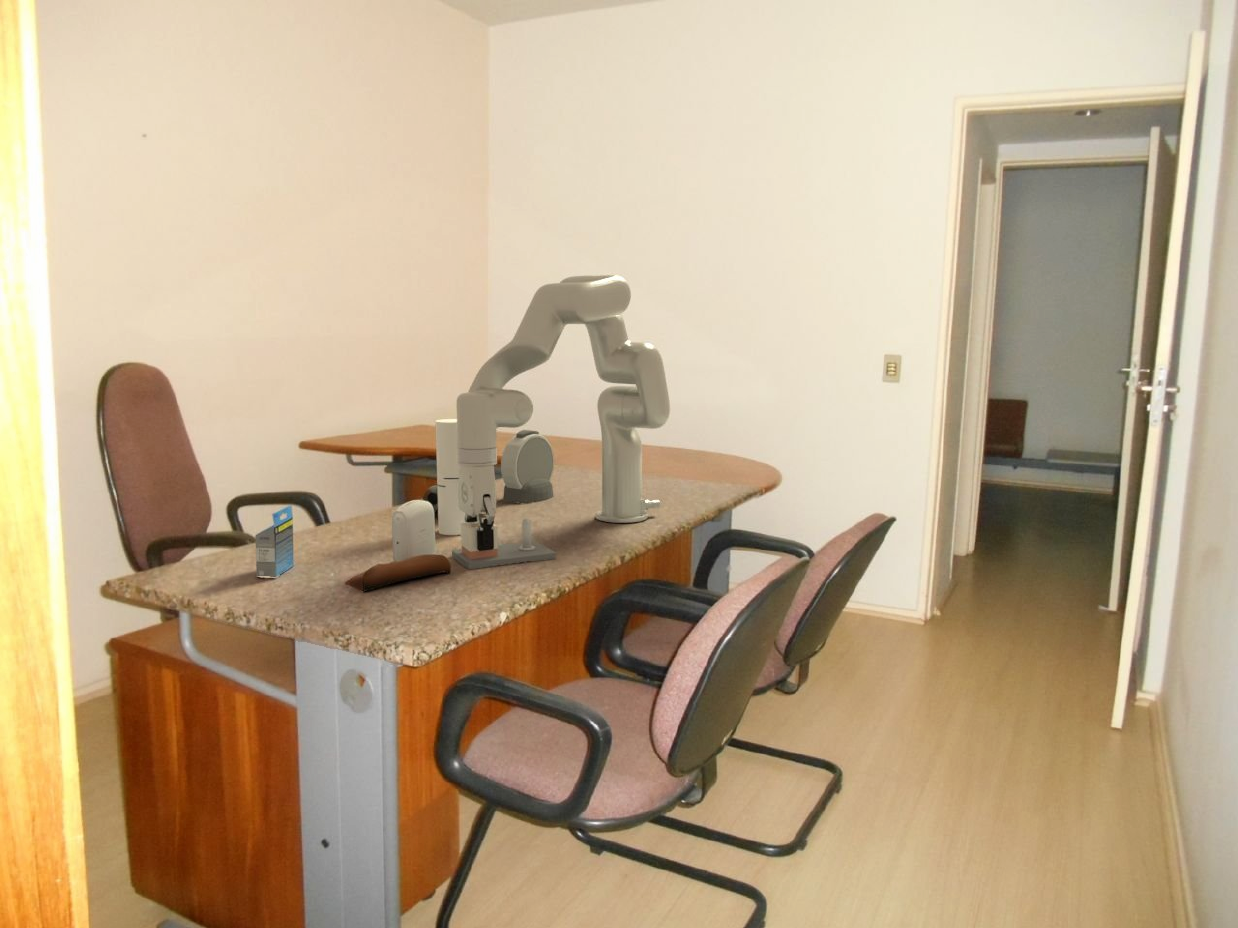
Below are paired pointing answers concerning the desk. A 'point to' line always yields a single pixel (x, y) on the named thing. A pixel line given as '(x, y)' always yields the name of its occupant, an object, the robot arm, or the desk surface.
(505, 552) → the pin board
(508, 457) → the alarm clock
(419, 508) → the photo printer
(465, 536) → the sleeve
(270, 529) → the label tape box
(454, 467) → the cylindrical container
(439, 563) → the sunglasses case
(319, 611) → the desk surface
